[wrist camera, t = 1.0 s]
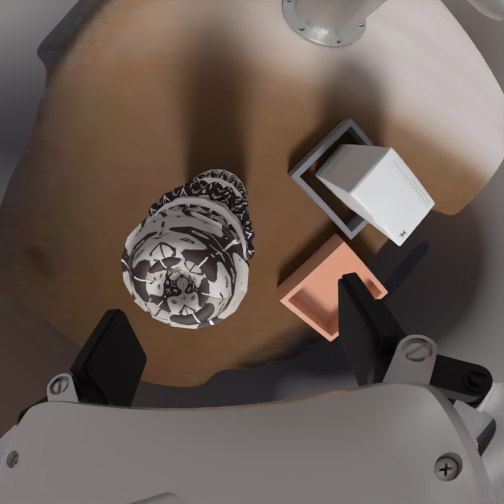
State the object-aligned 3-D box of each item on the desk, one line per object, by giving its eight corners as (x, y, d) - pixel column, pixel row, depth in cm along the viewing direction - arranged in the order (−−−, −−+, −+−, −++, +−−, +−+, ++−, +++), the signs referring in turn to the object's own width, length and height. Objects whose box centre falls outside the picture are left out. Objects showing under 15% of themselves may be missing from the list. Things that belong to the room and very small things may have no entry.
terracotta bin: (335, 232, 40) (344, 241, 37) (378, 280, 44) (387, 292, 40) (277, 287, 44) (279, 300, 40) (325, 327, 47) (330, 341, 44)
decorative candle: (258, 175, 37) (281, 230, 14) (240, 236, 40) (236, 361, 17) (193, 159, 36) (111, 188, 13) (179, 221, 39) (104, 326, 16)
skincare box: (376, 180, 38) (439, 204, 23) (349, 212, 39) (400, 251, 25) (339, 141, 35) (394, 143, 21) (309, 174, 37) (349, 195, 23)
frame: (343, 119, 34) (350, 118, 31) (394, 182, 38) (404, 185, 35) (287, 174, 37) (290, 176, 34) (344, 233, 41) (350, 239, 38)
